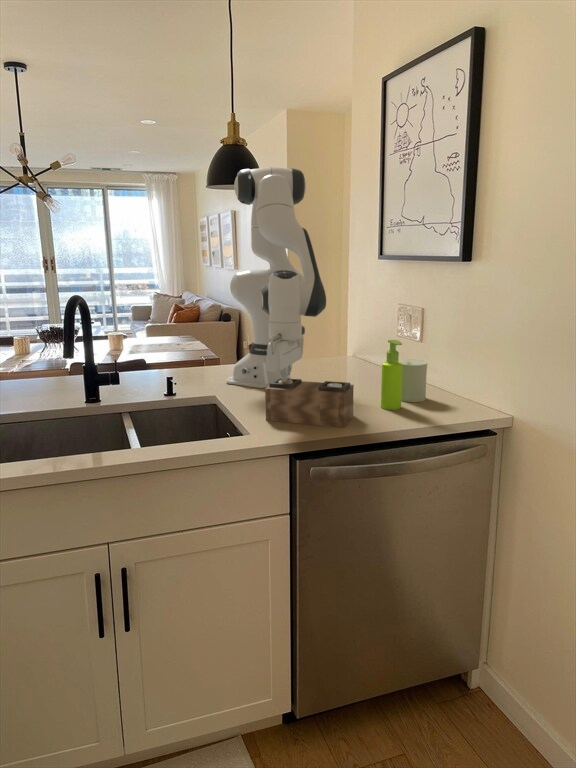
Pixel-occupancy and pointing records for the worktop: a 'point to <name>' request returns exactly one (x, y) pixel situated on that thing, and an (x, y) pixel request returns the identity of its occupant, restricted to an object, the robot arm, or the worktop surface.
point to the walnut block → (309, 402)
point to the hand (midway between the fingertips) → (285, 381)
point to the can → (413, 380)
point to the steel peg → (334, 385)
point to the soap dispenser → (391, 379)
